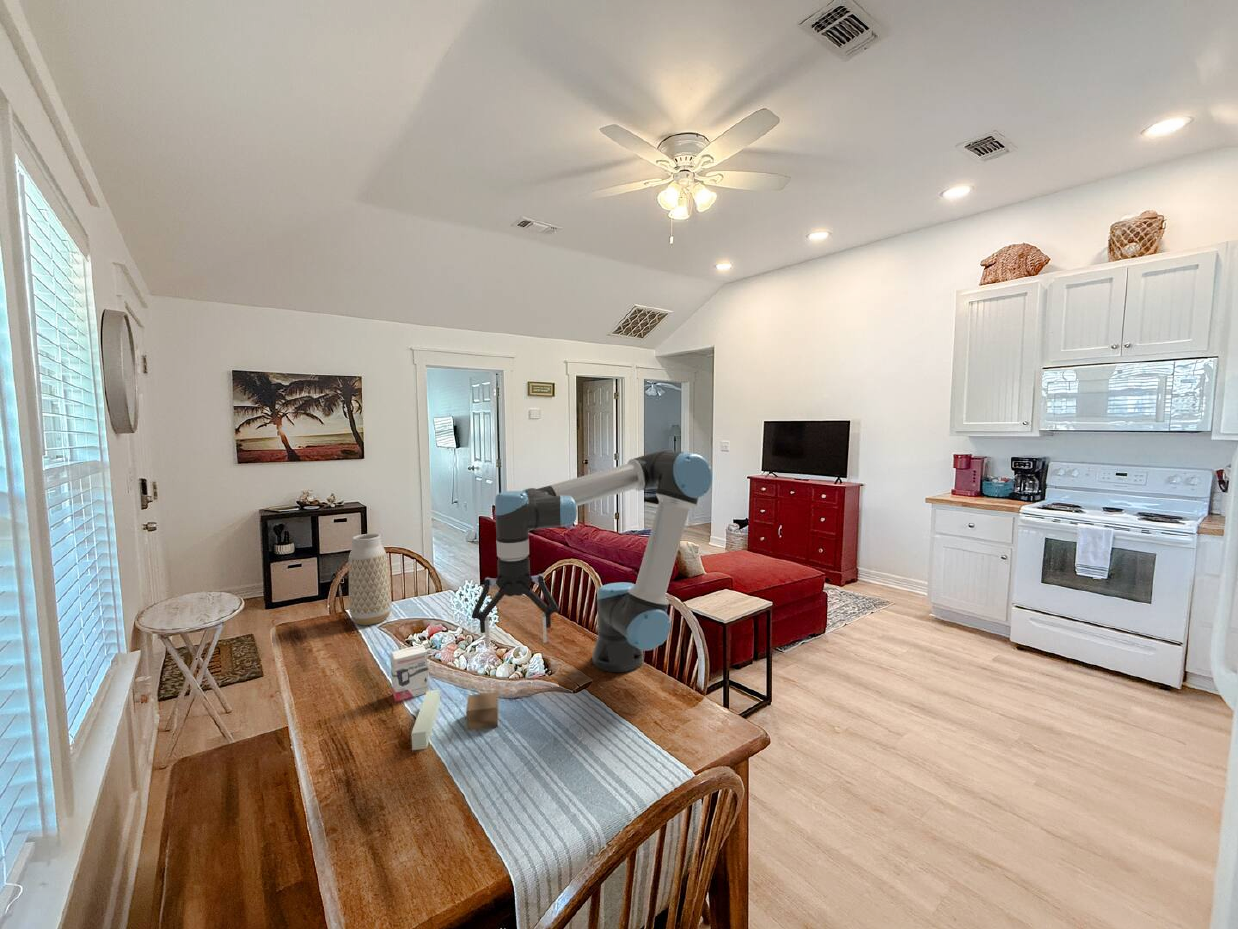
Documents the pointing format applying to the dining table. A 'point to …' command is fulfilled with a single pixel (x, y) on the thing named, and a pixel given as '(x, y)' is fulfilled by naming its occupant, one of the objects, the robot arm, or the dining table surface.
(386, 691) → the dining table surface
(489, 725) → the push block
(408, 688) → the ink box
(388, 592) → the vase
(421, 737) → the board
